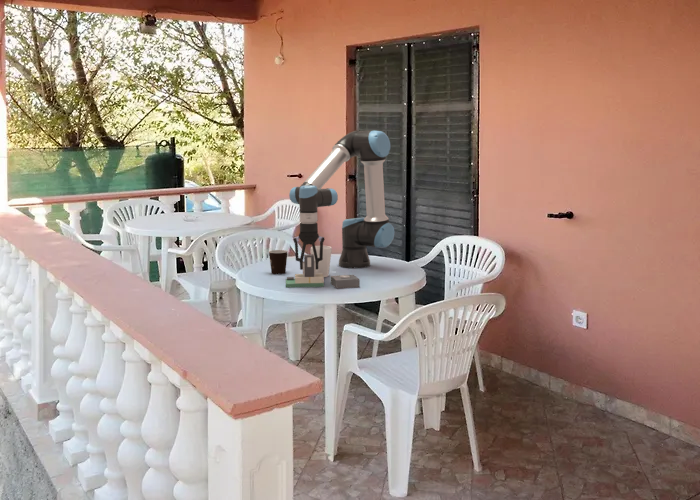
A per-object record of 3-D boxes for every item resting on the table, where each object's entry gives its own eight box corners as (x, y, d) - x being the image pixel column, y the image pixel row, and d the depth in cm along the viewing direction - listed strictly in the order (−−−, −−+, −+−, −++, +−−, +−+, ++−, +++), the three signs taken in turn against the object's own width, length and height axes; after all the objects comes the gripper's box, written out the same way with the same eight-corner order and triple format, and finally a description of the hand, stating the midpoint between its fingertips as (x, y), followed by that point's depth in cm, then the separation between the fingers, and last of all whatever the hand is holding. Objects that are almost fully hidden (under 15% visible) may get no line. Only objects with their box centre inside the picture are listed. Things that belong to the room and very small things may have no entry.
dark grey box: (353, 282, 326) (353, 273, 325) (359, 287, 317) (359, 277, 316) (330, 283, 324) (330, 274, 323) (336, 288, 314) (336, 279, 313)
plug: (313, 277, 324) (313, 254, 322) (314, 279, 319) (313, 256, 317) (304, 277, 323) (304, 254, 322) (304, 279, 318) (304, 256, 317)
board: (322, 281, 329) (322, 276, 328) (323, 286, 318) (323, 281, 318) (285, 282, 327) (285, 276, 327) (285, 287, 317) (285, 282, 316)
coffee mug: (284, 275, 343) (284, 253, 341) (266, 274, 345) (266, 252, 343) (291, 270, 354) (291, 249, 352) (274, 269, 356) (273, 248, 354)
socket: (322, 279, 326) (322, 273, 325) (323, 282, 318) (323, 277, 318) (295, 279, 325) (295, 274, 324) (295, 283, 317) (295, 277, 317)
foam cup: (324, 278, 335) (323, 249, 333) (307, 276, 340) (306, 248, 337) (335, 275, 343) (335, 246, 340) (318, 273, 347) (318, 245, 345)
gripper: (288, 223, 313) (289, 279, 317) (329, 223, 314) (329, 278, 318) (288, 221, 321) (289, 275, 324) (328, 221, 322) (328, 274, 326)
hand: (309, 276), depth 321 cm, fingers closed on plug, 4 cm apart
